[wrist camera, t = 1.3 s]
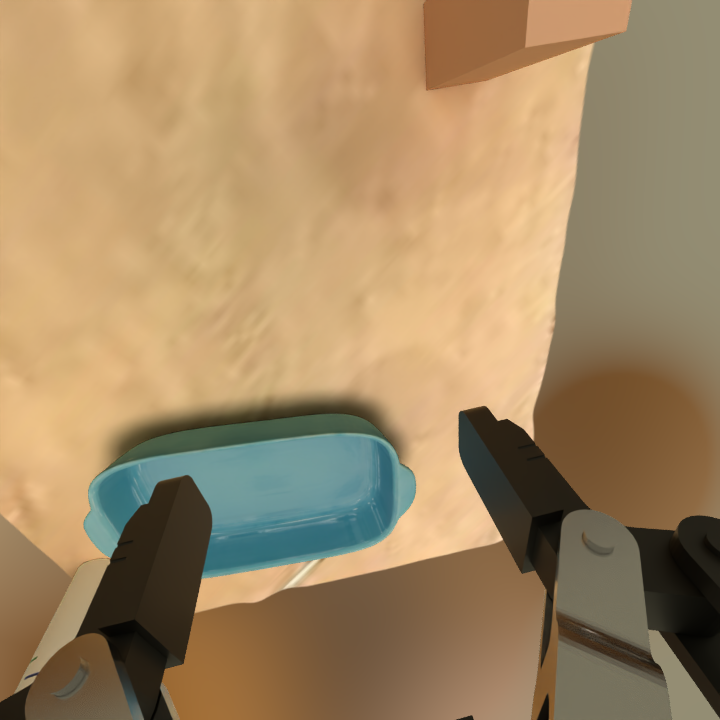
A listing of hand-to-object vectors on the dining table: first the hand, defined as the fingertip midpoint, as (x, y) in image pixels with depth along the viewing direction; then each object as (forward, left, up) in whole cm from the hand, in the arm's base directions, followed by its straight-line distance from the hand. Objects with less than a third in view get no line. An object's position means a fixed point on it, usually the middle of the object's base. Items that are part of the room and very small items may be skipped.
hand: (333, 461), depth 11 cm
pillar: (+8, +18, -26) cm, 33 cm away
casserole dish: (+1, -29, -27) cm, 40 cm away
